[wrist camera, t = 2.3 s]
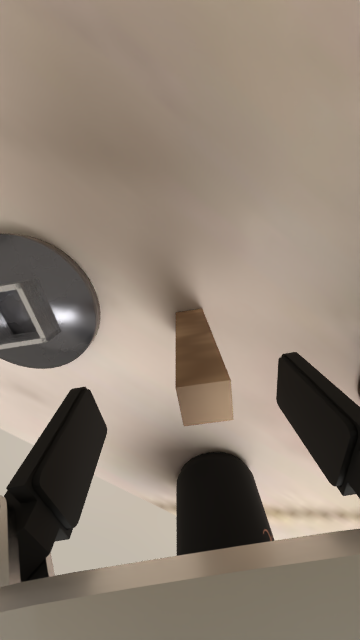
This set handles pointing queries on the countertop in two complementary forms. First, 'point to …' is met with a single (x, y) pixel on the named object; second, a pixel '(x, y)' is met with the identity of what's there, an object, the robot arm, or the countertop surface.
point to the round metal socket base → (43, 304)
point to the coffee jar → (218, 505)
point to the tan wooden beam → (200, 372)
